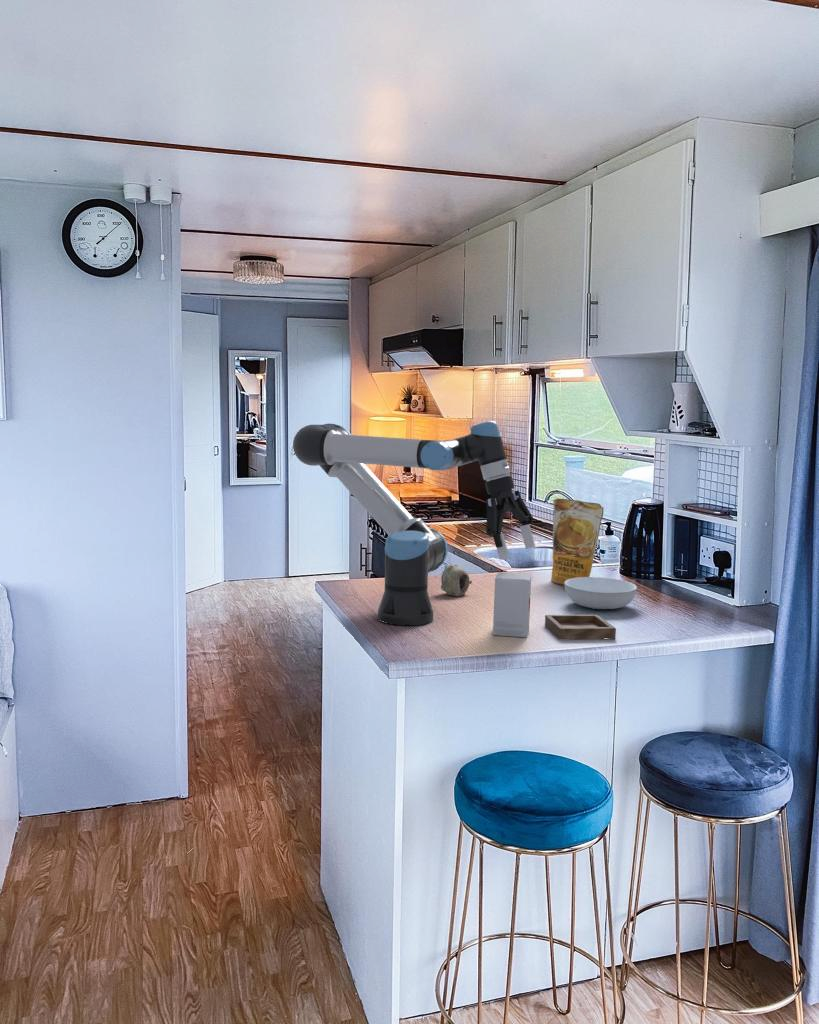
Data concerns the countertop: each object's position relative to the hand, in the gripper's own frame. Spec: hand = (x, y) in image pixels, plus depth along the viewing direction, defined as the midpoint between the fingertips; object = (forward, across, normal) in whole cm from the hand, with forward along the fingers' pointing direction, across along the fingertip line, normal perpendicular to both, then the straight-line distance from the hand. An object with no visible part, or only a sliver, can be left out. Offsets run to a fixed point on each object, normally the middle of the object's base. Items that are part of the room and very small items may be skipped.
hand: (518, 553), depth 235 cm
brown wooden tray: (+23, -2, -14) cm, 27 cm away
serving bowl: (+24, +28, -4) cm, 37 cm away
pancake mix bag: (+20, +51, +17) cm, 57 cm away
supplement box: (+18, -15, -2) cm, 24 cm away
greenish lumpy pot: (+10, +12, +34) cm, 38 cm away
